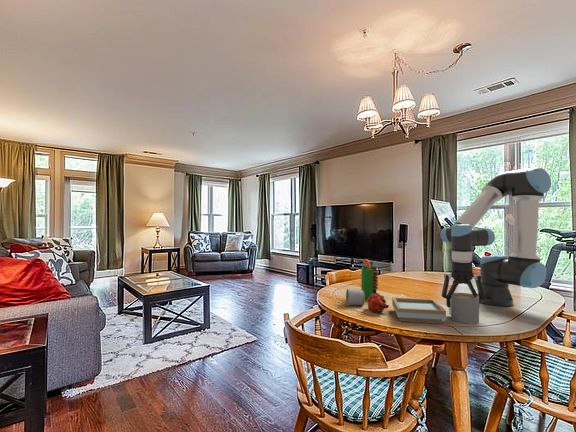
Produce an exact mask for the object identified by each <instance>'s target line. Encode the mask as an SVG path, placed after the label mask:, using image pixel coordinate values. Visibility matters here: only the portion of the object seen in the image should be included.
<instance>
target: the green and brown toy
mask: <svg viewBox="0 0 576 432" xmlns="http://www.w3.org/2000/svg"><path fill="white" fill-rule="evenodd" d="M362 264H363V265H364V264H365V265H367V266H362V267H361V278H360V281H361V282H360V284H361V285H360V286H361V287H360V288H361V289H360V290H362V291H364V294H365V300H366V301H367V300H368V298H369V296H370V295H371V294H373V293H377V290H378V289H379V287H378V285H379V270H377V269H378V268H377V266H371V264H370V260H369V259H363V260H362Z"/></svg>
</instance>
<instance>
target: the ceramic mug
mask: <svg viewBox="0 0 576 432" xmlns="http://www.w3.org/2000/svg"><path fill="white" fill-rule="evenodd" d="M365 300H366V299H365V294H364V291H362V290H361V289H353V288H347V289H346V291H345V303H346V305H347V306H363V305H364V304H365V302H366V301H365Z"/></svg>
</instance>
